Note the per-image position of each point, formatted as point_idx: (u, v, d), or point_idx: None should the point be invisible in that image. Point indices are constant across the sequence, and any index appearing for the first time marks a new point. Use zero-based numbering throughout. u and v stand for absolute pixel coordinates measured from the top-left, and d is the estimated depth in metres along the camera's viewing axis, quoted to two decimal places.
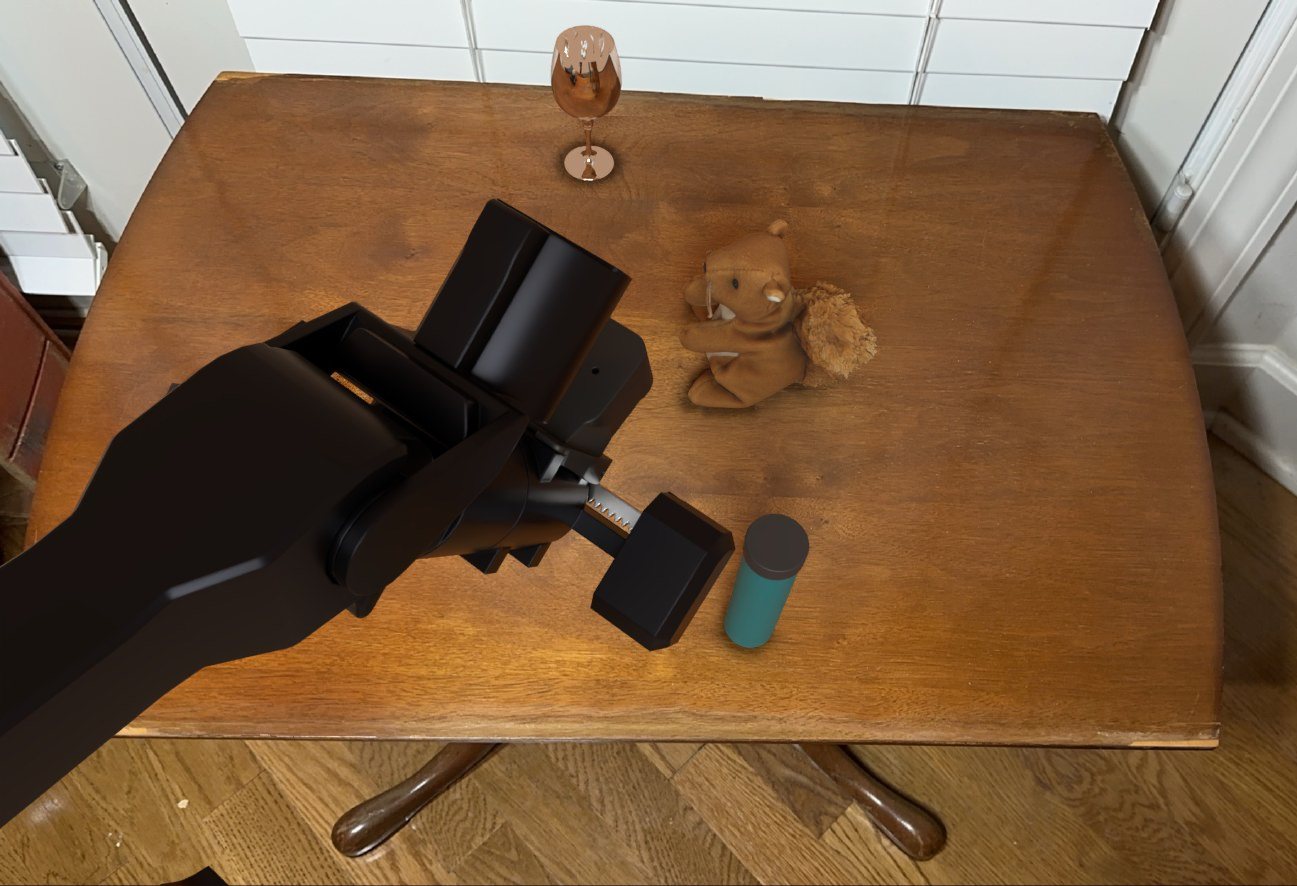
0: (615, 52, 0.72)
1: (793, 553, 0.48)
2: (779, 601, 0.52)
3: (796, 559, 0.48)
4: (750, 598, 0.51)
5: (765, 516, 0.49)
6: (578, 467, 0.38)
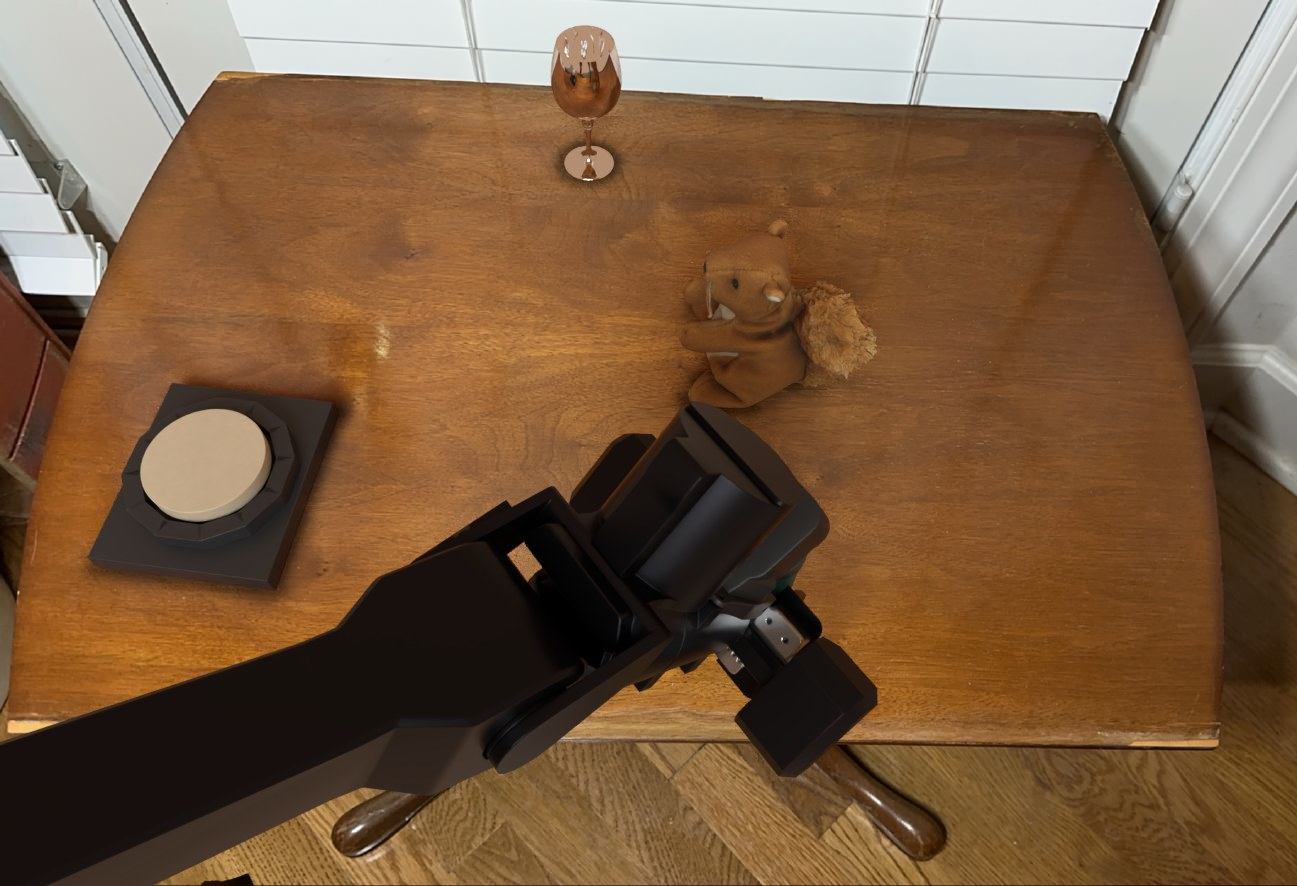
0: (615, 52, 0.72)
1: None
2: None
3: None
4: None
5: None
6: (738, 613, 0.42)
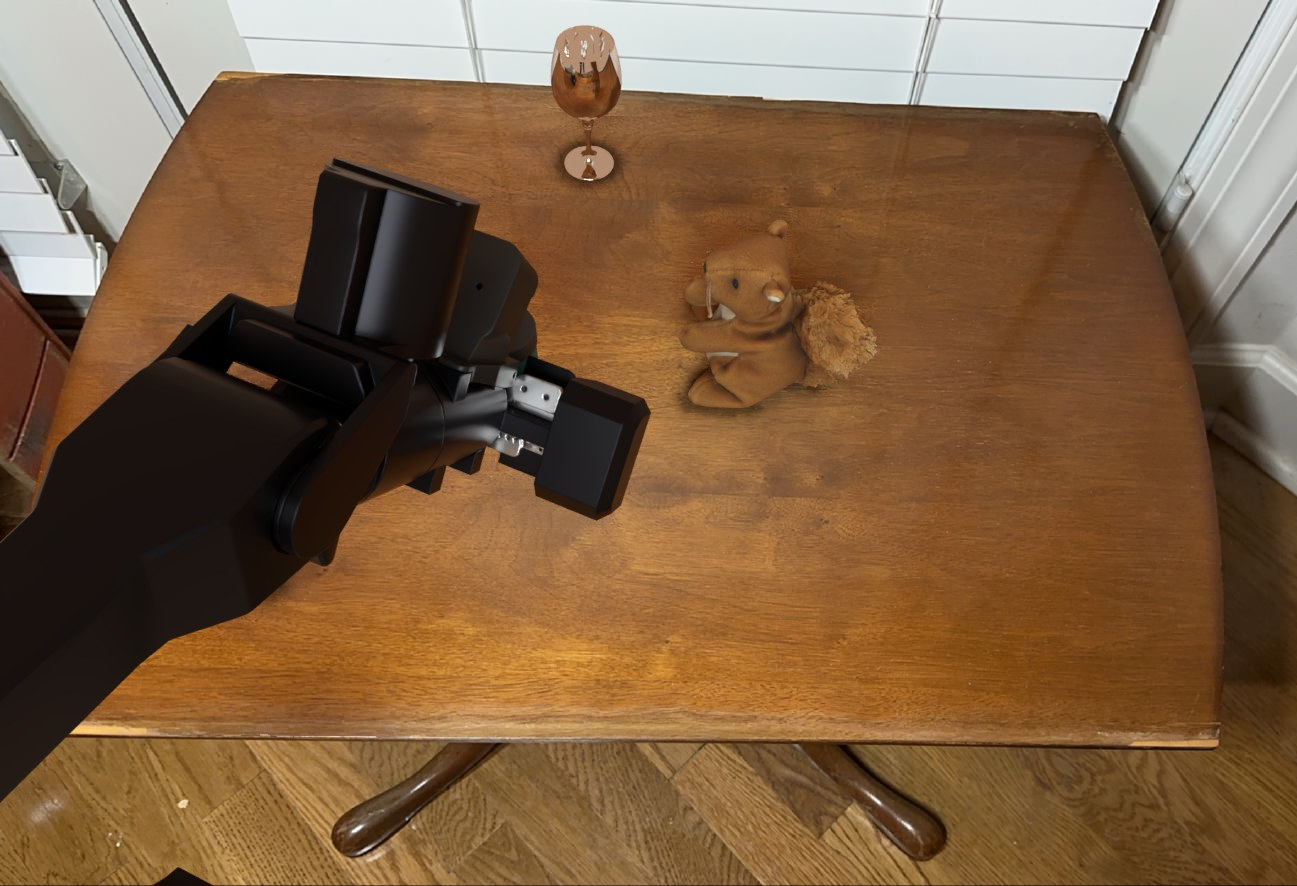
0: (615, 52, 0.72)
1: (522, 330, 0.48)
2: None
3: (527, 333, 0.48)
4: None
5: None
6: (488, 378, 0.41)
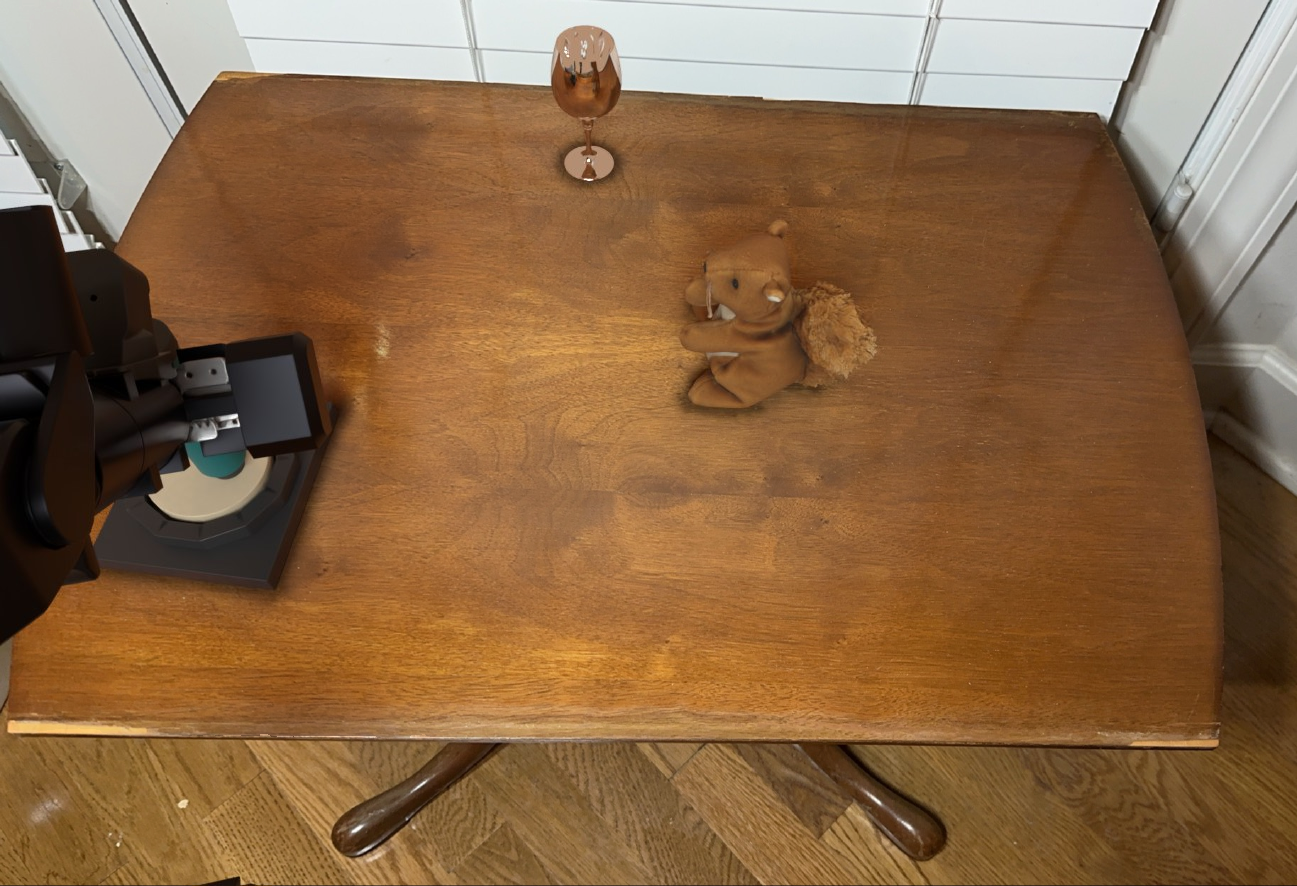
0: (615, 52, 0.72)
1: (157, 334, 0.50)
2: None
3: (163, 335, 0.50)
4: None
5: None
6: (150, 372, 0.44)
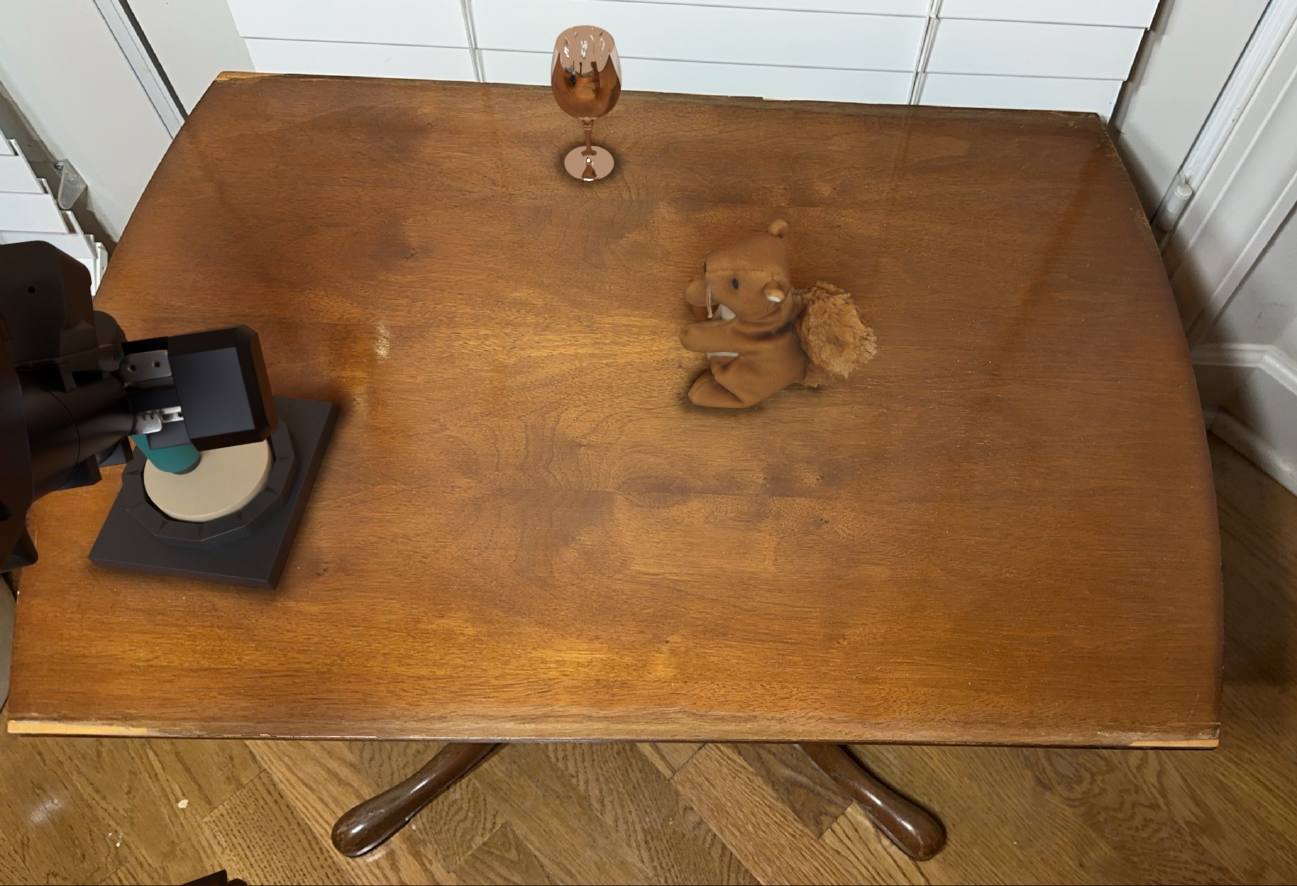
0: (615, 52, 0.72)
1: (103, 327, 0.50)
2: None
3: (110, 327, 0.50)
4: None
5: None
6: (88, 364, 0.44)
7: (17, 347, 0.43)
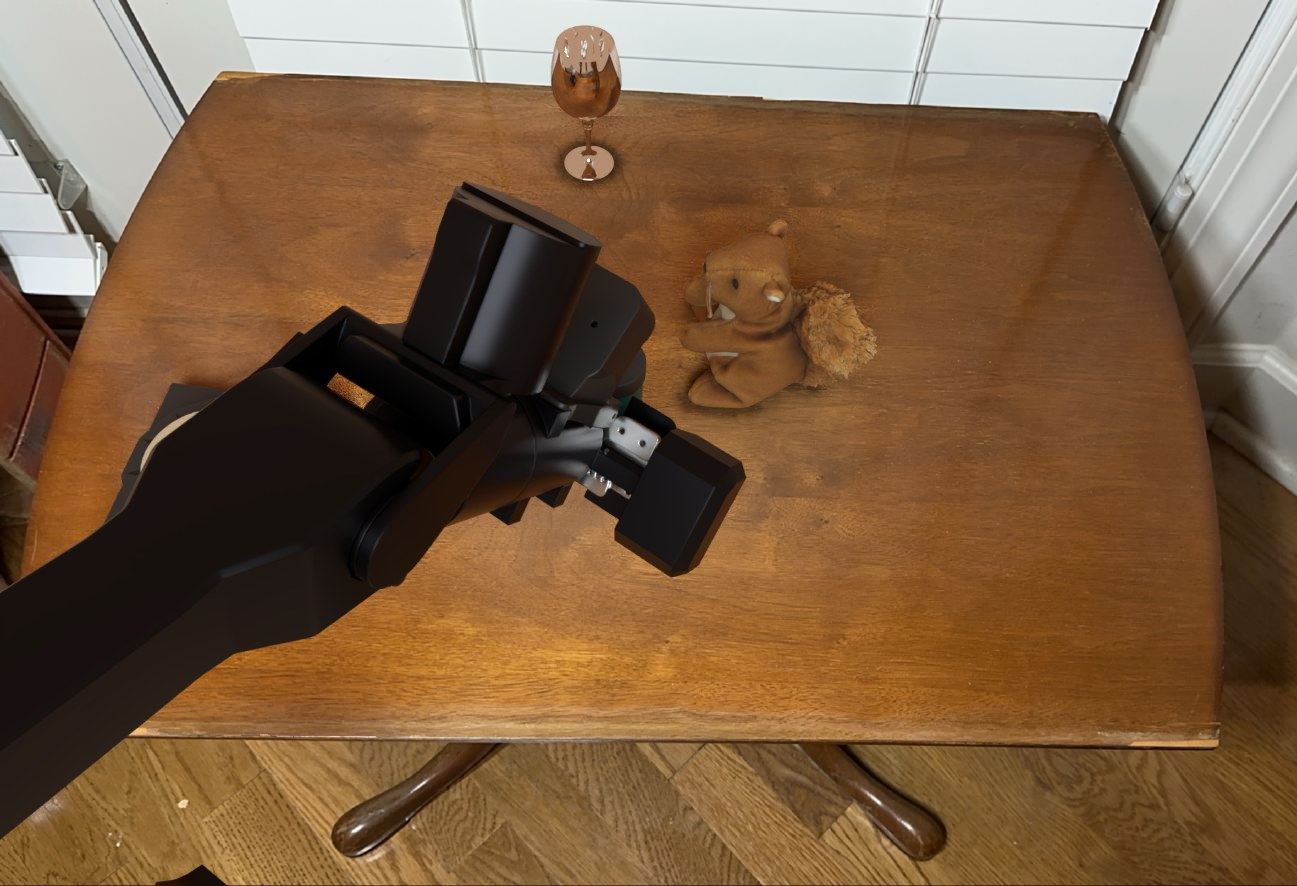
0: (615, 52, 0.72)
1: (632, 366, 0.47)
2: None
3: (636, 370, 0.47)
4: None
5: None
6: (586, 418, 0.40)
7: None
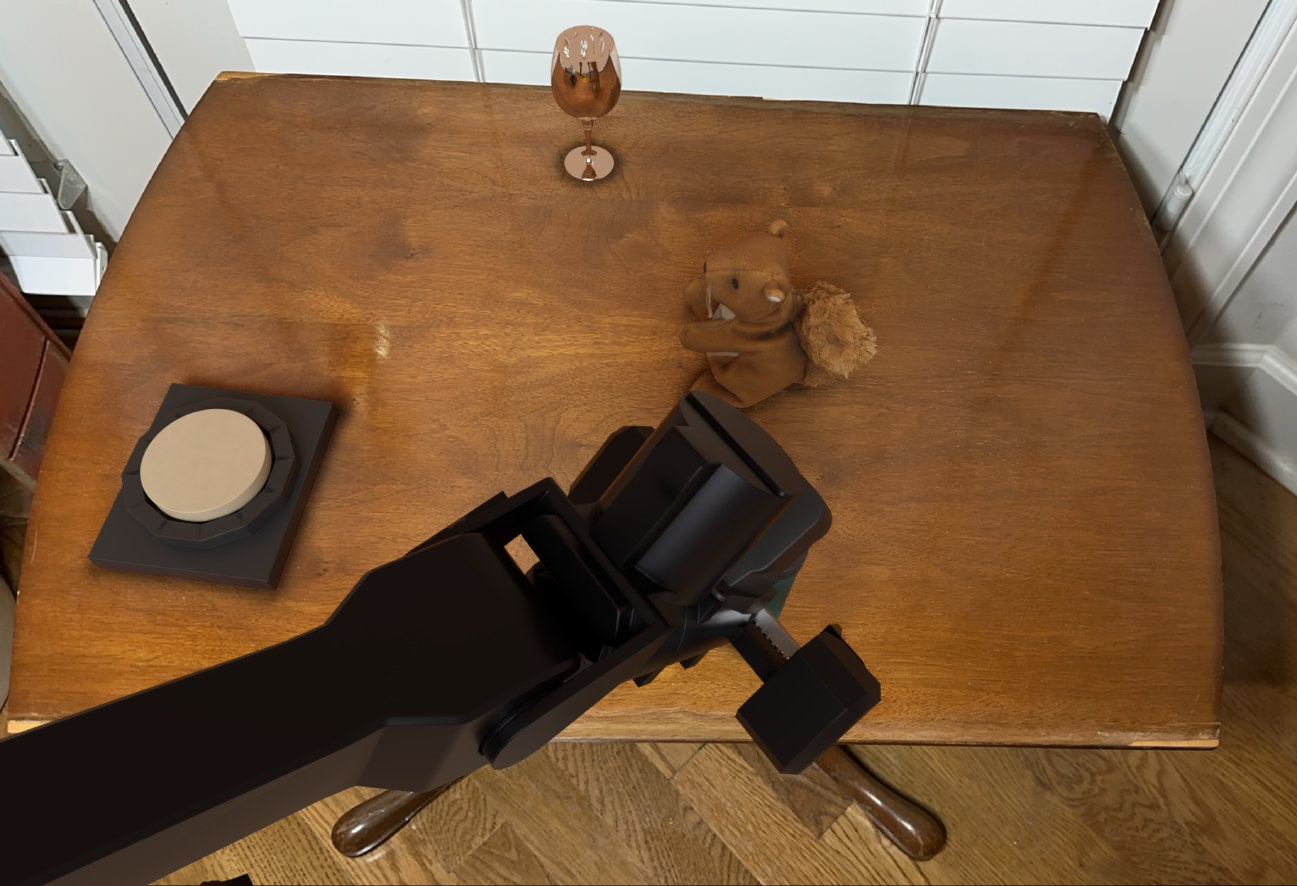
0: (615, 52, 0.72)
1: None
2: (778, 601, 0.52)
3: None
4: None
5: None
6: (739, 607, 0.41)
7: None
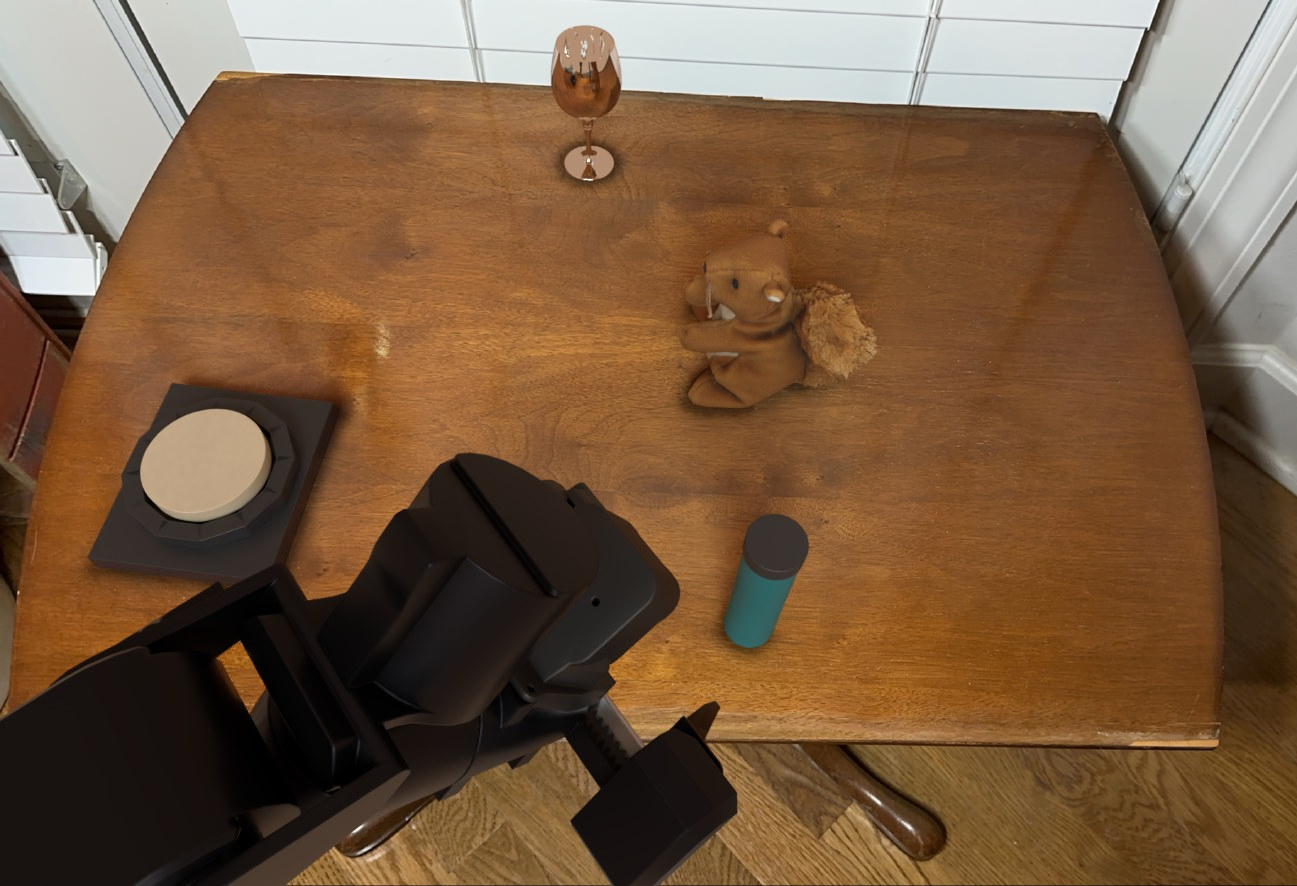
0: (615, 52, 0.72)
1: (792, 553, 0.48)
2: (778, 601, 0.52)
3: (796, 559, 0.48)
4: (749, 598, 0.51)
5: (765, 516, 0.49)
6: (559, 705, 0.34)
7: None
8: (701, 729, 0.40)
